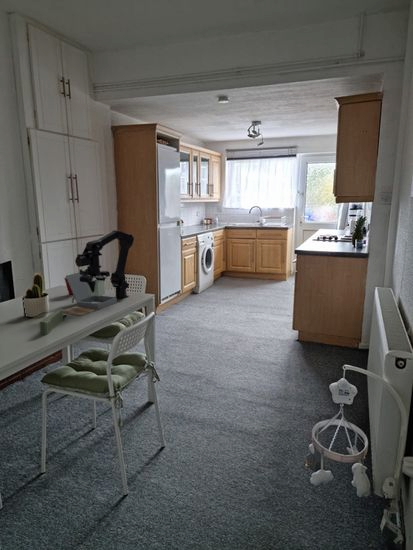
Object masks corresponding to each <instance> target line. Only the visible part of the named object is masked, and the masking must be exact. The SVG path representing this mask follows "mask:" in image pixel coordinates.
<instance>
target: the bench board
mask: <svg viewBox="0 0 413 550" xmlns="http://www.w3.org/2000/svg"><path fill="white" fill-rule="evenodd" d="M62 311H63V314H66V315H74V316H79V317H82V316H86V315H88V314H90V313H91V314H92V313H94V312H96V311H97V309H92V308H85V307H79V306H77V305H75V306H72V307H69V308H67V309H64V310H63V309H62Z"/></svg>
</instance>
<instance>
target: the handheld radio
mask: <svg viewBox="0 0 413 550" xmlns="http://www.w3.org/2000/svg"><path fill="white" fill-rule="evenodd" d="M67 315H68V314H67V313H63V308H61V307H59V308H57V309H56V310H55V311H53V312H52V313H51V314H49V315H47V316H46V317H45V318H43V319H42V320H41V321H40V322H39V328H40V330H39V331H40V336H46V335H48V334H49V333H50V332H51V331H52V330H54V329H55V328H57V326H59V325H60V324H62V323H63V321H64V320H63V319H65V318H66V317H67Z"/></svg>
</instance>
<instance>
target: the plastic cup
mask: <svg viewBox="0 0 413 550" xmlns="http://www.w3.org/2000/svg"><path fill="white" fill-rule="evenodd" d="M63 279H64V281H65V285H66V288H67V292H68V295H69V297H70V296H71V297H73V293H72V290H71V288H70V286H69V283H68V281H67V278H66V276H63Z"/></svg>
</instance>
